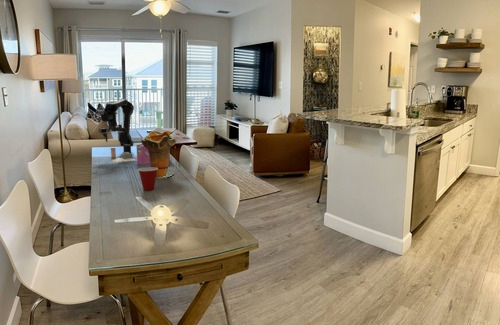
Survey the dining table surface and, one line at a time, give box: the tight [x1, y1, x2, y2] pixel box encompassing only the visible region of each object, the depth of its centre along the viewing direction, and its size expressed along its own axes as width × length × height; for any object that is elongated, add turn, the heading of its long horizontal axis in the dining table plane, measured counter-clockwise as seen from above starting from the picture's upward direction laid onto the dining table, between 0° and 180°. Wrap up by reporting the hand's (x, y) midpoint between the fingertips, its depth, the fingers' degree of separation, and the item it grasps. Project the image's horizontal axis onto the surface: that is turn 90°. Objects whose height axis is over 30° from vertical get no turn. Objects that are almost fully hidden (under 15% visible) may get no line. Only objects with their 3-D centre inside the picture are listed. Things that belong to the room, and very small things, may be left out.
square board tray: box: [108, 152, 137, 164], centre depth 290 cm, size 16×16×4 cm
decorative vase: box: [140, 130, 177, 180], centre depth 246 cm, size 21×23×28 cm
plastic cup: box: [137, 166, 158, 192], centre depth 217 cm, size 11×11×12 cm
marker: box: [110, 147, 117, 159], centre depth 296 cm, size 3×3×8 cm
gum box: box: [136, 143, 171, 166], centre depth 286 cm, size 24×8×14 cm, turn 134°
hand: (113, 141), depth 294 cm, fingers open, 9 cm apart
